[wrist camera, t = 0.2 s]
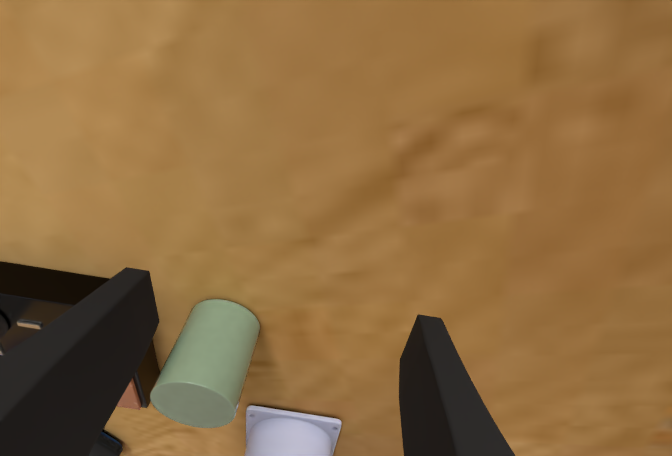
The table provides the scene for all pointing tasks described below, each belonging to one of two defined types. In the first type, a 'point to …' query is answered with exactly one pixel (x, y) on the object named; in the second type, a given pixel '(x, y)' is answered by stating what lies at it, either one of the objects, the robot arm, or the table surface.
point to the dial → (3, 326)
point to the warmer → (54, 310)
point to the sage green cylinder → (207, 365)
